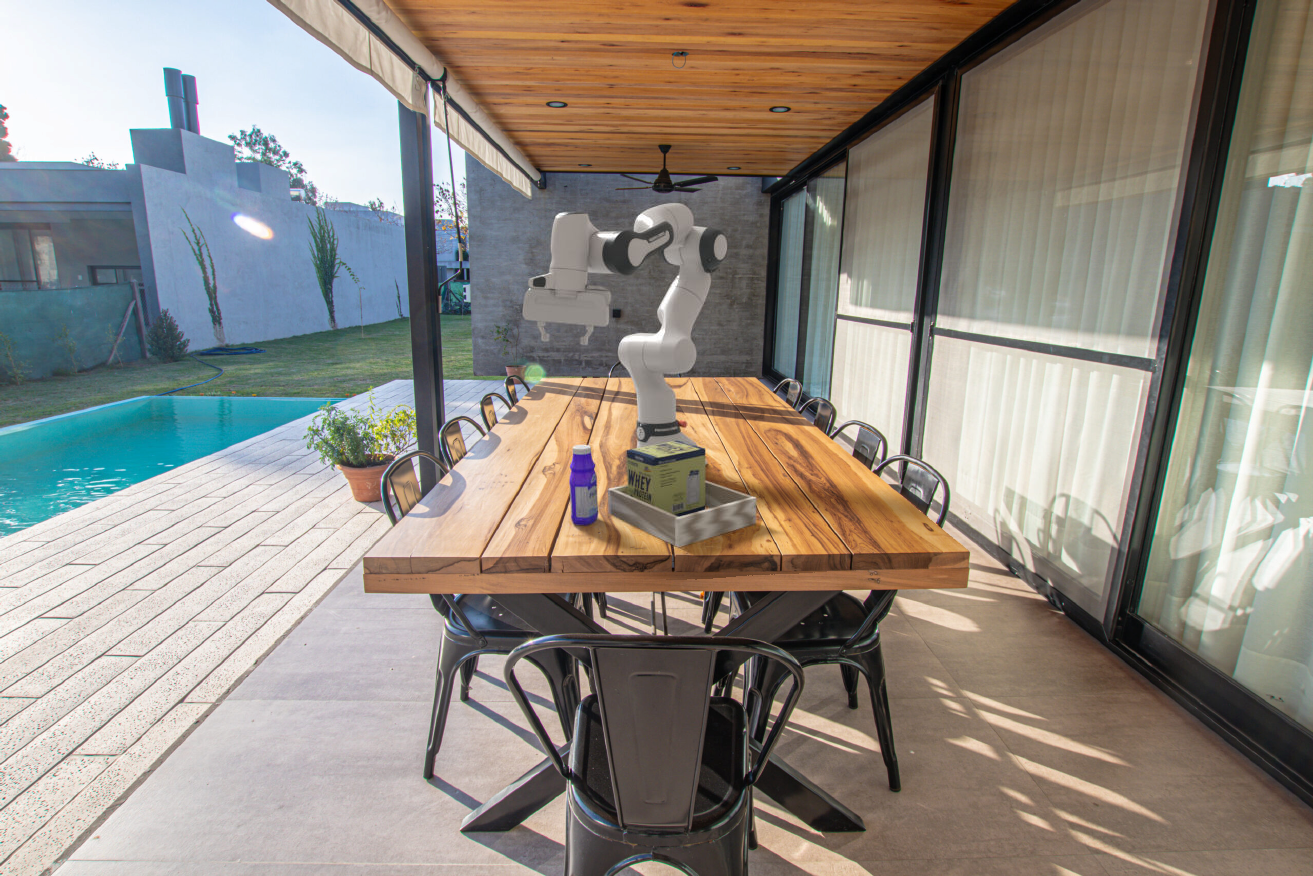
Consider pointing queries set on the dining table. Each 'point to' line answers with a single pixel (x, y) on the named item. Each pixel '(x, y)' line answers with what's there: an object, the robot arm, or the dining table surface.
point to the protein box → (668, 476)
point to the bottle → (583, 486)
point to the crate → (721, 518)
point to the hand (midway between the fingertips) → (564, 342)
